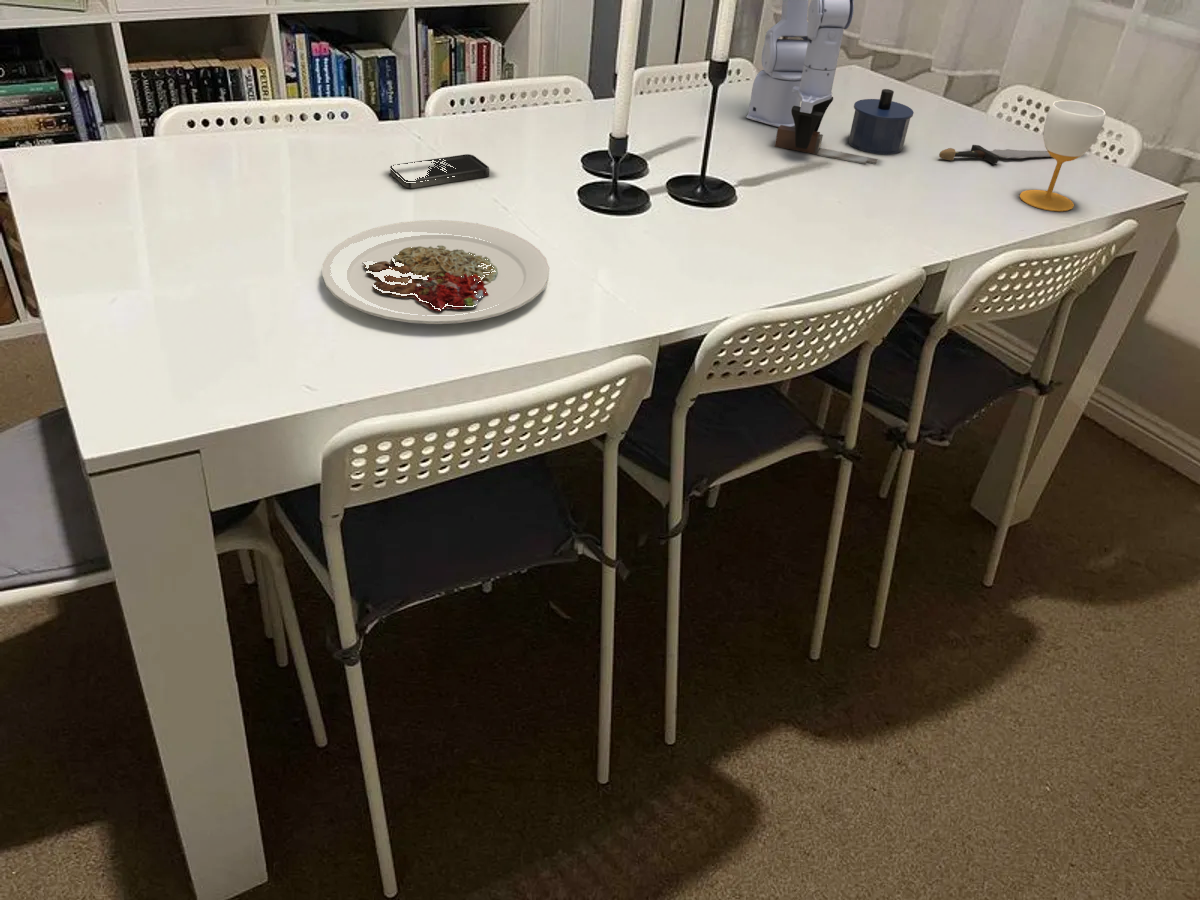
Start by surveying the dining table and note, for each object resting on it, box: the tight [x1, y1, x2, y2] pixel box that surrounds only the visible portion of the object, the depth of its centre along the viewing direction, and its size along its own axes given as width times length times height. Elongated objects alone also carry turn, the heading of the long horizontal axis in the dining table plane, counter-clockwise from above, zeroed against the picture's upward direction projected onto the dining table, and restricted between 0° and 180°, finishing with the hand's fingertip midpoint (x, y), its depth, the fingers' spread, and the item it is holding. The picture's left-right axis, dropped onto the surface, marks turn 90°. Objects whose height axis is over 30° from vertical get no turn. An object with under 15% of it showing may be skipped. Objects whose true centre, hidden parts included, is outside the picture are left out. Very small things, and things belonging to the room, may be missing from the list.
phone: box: [389, 153, 490, 189], centre depth 163 cm, size 8×1×15 cm
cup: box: [1019, 99, 1107, 212], centre depth 167 cm, size 9×9×16 cm
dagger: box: [938, 144, 1052, 165], centre depth 188 cm, size 8×32×2 cm, turn 98°
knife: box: [774, 125, 878, 165], centre depth 182 cm, size 19×3×3 cm, turn 69°
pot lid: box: [853, 88, 915, 120], centre depth 185 cm, size 11×11×4 cm
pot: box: [848, 109, 911, 155], centre depth 188 cm, size 10×10×6 cm
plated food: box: [321, 219, 550, 325], centre depth 132 cm, size 30×30×3 cm
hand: (805, 141), depth 184 cm, fingers open, 7 cm apart
